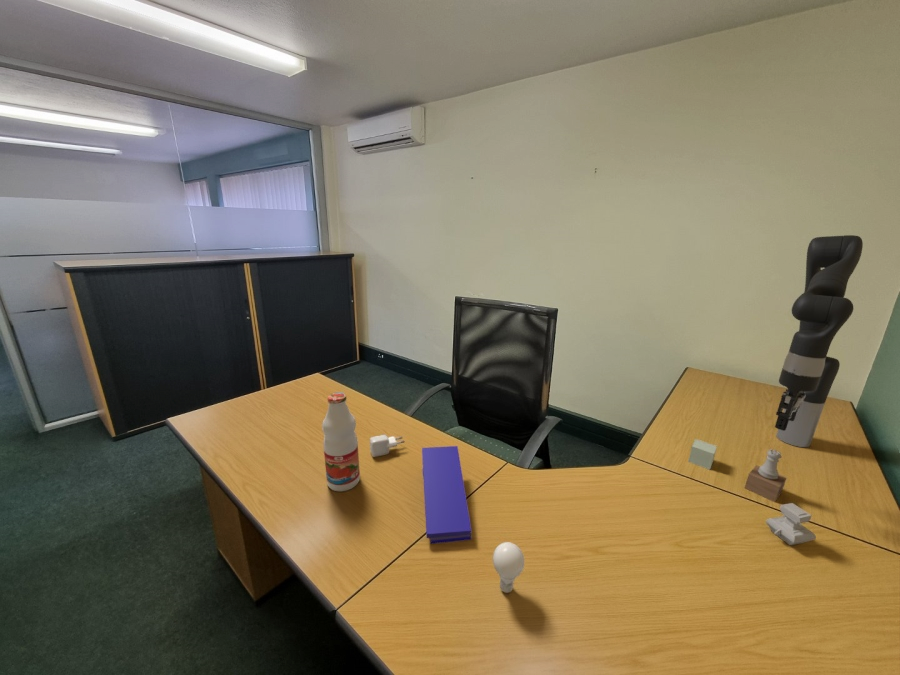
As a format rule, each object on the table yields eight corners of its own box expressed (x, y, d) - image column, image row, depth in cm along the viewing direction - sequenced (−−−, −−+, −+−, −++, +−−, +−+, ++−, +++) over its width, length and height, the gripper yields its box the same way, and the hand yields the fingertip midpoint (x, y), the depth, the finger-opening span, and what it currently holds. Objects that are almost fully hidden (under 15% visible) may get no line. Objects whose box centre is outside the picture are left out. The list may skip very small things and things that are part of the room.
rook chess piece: (781, 481, 102) (789, 457, 100) (763, 479, 103) (771, 455, 100) (771, 471, 106) (778, 448, 104) (754, 469, 107) (761, 446, 105)
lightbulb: (488, 576, 78) (491, 535, 75) (517, 574, 78) (520, 534, 75) (494, 605, 72) (497, 562, 69) (525, 602, 72) (529, 560, 69)
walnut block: (752, 479, 110) (756, 465, 109) (781, 492, 105) (786, 477, 104) (744, 487, 106) (748, 473, 105) (774, 502, 101) (779, 487, 100)
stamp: (787, 551, 85) (797, 523, 83) (759, 529, 91) (768, 502, 89) (816, 546, 87) (827, 518, 84) (787, 525, 93) (796, 498, 91)
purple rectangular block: (455, 469, 113) (456, 442, 110) (474, 542, 87) (475, 509, 84) (419, 472, 112) (419, 444, 109) (426, 547, 85) (426, 514, 82)
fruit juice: (362, 471, 111) (357, 388, 103) (356, 492, 102) (350, 403, 94) (332, 471, 111) (324, 388, 103) (323, 492, 102) (313, 404, 94)
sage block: (691, 454, 123) (695, 438, 121) (712, 461, 119) (717, 446, 117) (688, 461, 118) (691, 446, 117) (709, 470, 114) (714, 453, 113)
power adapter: (401, 444, 125) (401, 429, 124) (405, 451, 121) (405, 436, 119) (369, 451, 121) (369, 435, 119) (372, 459, 117) (371, 443, 115)
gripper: (790, 360, 102) (774, 411, 106) (775, 371, 94) (759, 426, 98) (827, 368, 96) (808, 422, 101) (815, 381, 88) (795, 438, 92)
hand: (784, 424), depth 99 cm, fingers open, 8 cm apart
